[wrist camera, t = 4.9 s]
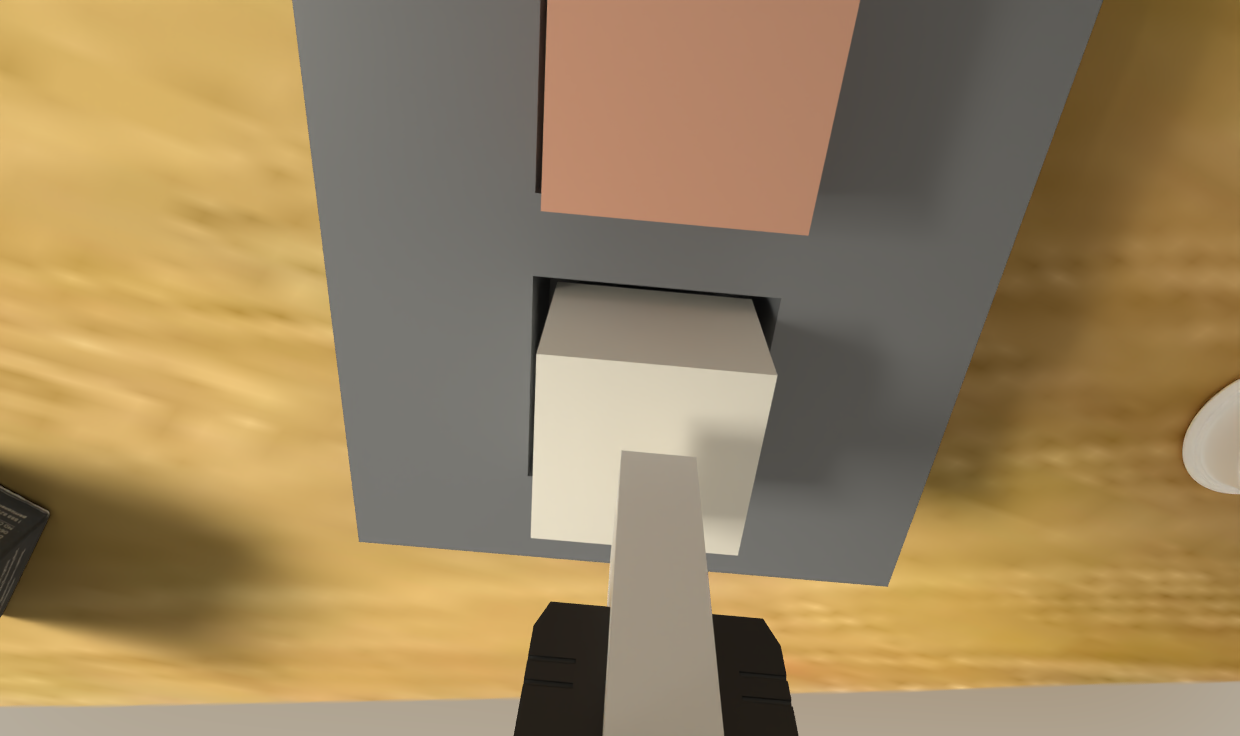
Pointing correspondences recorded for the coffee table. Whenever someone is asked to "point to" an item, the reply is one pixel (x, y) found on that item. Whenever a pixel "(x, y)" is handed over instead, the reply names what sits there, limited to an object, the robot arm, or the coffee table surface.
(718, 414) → the ivory key
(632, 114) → the terracotta key
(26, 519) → the box
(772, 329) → the key panel
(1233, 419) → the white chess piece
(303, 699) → the coffee table surface
